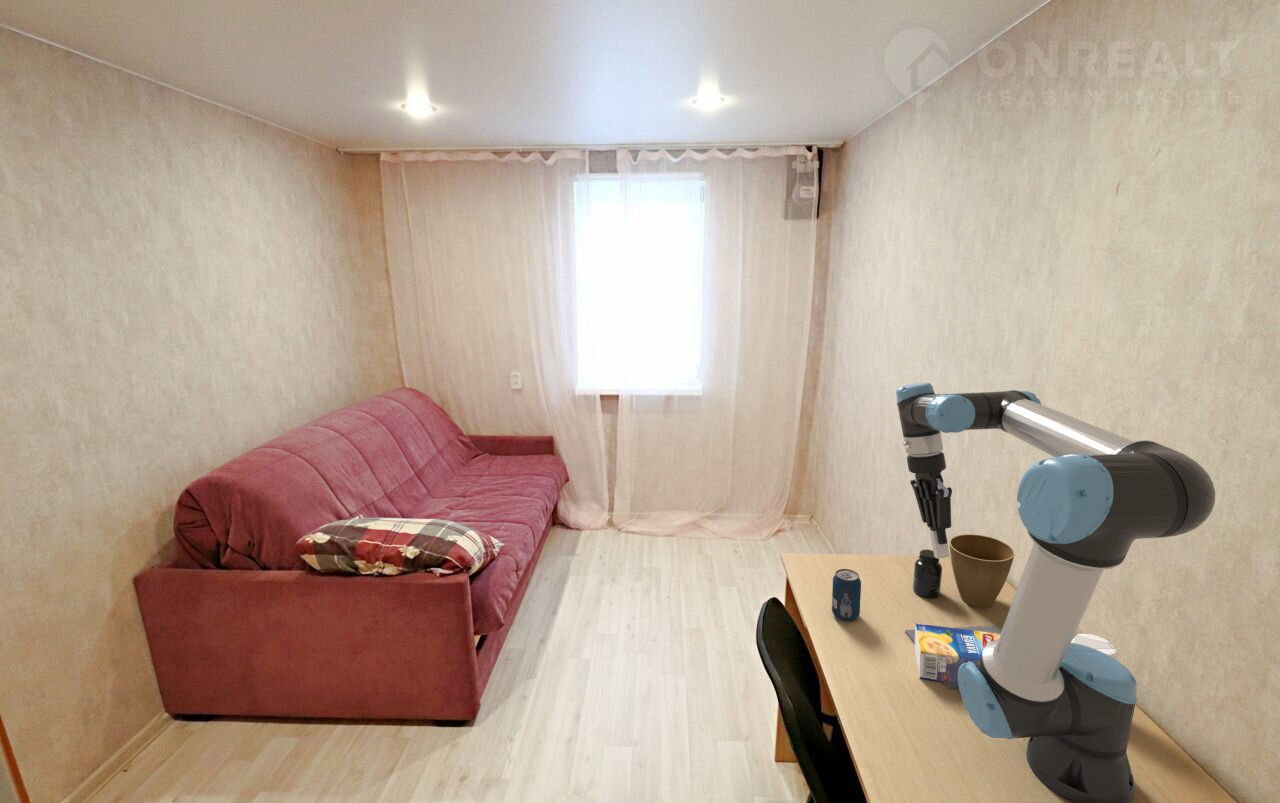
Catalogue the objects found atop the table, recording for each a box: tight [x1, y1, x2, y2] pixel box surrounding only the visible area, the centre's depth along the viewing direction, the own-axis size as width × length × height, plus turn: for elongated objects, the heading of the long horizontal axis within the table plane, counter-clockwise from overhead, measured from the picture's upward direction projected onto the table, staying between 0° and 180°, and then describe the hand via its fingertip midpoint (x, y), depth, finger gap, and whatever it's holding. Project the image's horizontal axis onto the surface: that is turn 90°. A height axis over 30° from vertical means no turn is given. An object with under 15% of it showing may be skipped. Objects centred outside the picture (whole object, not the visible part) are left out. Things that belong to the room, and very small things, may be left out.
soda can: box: [831, 568, 862, 623], centre depth 149 cm, size 7×7×12 cm
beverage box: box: [914, 623, 1001, 684], centre depth 127 cm, size 7×11×22 cm
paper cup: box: [1071, 633, 1119, 661], centre depth 116 cm, size 8×8×14 cm
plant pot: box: [948, 533, 1016, 609], centre depth 153 cm, size 15×15×16 cm
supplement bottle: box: [912, 549, 943, 600], centre depth 158 cm, size 7×7×12 cm
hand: (942, 556), depth 128 cm, fingers closed
